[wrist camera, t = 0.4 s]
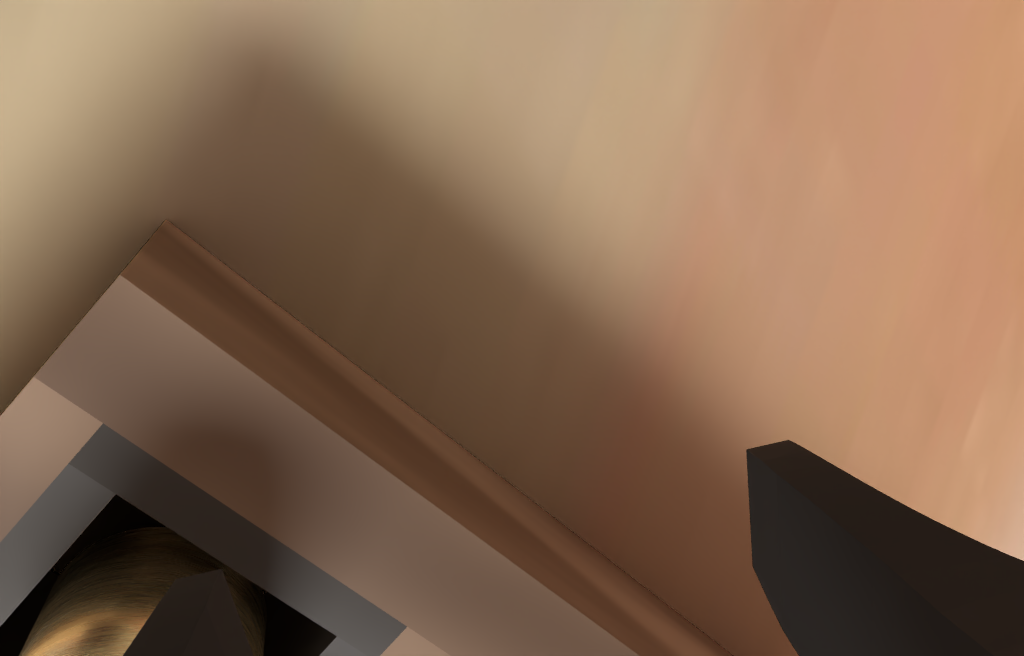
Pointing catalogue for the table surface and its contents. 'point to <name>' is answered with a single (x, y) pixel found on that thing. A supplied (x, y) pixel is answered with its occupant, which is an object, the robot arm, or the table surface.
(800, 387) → the table surface
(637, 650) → the peg board
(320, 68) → the table surface
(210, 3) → the table surface
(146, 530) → the brass peg
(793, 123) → the table surface
